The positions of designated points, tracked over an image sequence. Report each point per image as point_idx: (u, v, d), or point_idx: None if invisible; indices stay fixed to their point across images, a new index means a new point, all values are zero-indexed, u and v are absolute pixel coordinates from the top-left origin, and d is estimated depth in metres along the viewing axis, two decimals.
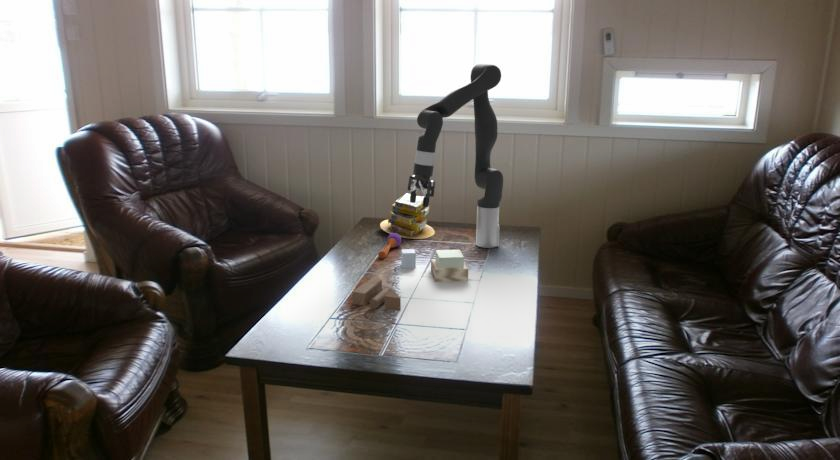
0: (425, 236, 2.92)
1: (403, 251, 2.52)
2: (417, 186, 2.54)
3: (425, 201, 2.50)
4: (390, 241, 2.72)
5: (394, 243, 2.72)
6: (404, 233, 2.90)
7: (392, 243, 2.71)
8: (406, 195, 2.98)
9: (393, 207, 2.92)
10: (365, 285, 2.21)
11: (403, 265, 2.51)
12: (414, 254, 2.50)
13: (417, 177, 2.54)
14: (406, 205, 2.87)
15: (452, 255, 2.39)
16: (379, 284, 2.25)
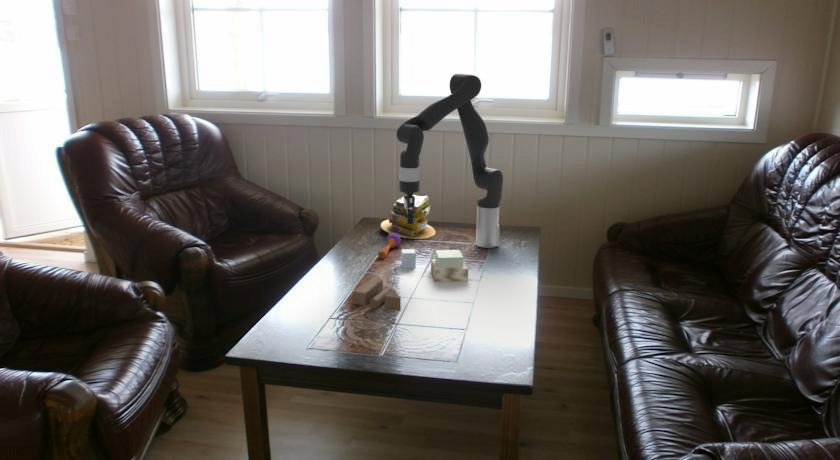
0: (426, 236, 2.92)
1: (403, 251, 2.52)
2: None
3: (408, 218, 2.43)
4: (390, 241, 2.72)
5: (394, 243, 2.72)
6: (405, 233, 2.90)
7: (392, 243, 2.71)
8: None
9: (394, 207, 2.92)
10: (366, 285, 2.21)
11: (403, 265, 2.51)
12: (414, 254, 2.50)
13: None
14: None
15: (452, 255, 2.39)
16: (380, 283, 2.25)
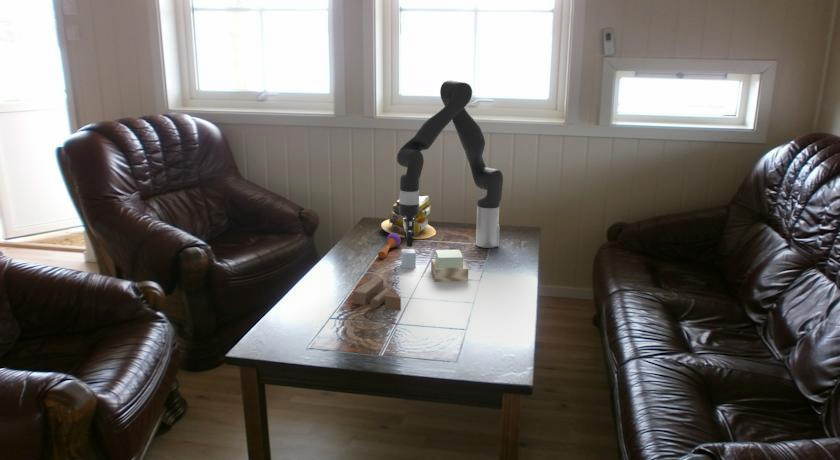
0: (426, 236, 2.92)
1: (403, 251, 2.52)
2: None
3: (407, 241, 2.45)
4: (389, 241, 2.72)
5: (393, 243, 2.72)
6: None
7: (391, 243, 2.71)
8: None
9: (394, 207, 2.92)
10: (366, 285, 2.21)
11: (403, 265, 2.51)
12: (414, 254, 2.50)
13: (405, 215, 2.50)
14: None
15: (451, 255, 2.39)
16: (380, 283, 2.25)
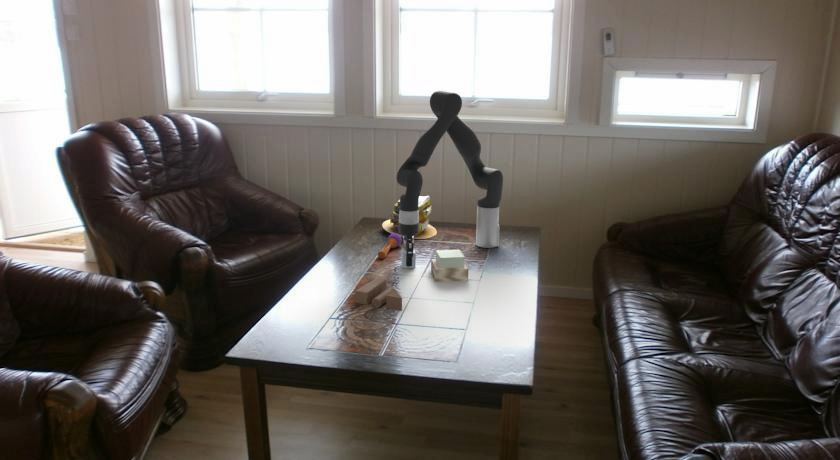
0: (427, 236, 2.92)
1: (403, 251, 2.51)
2: None
3: (407, 261, 2.49)
4: (390, 241, 2.72)
5: (394, 243, 2.72)
6: None
7: (392, 243, 2.71)
8: None
9: (395, 207, 2.92)
10: (369, 284, 2.21)
11: (403, 265, 2.51)
12: (414, 254, 2.50)
13: (405, 234, 2.52)
14: None
15: (453, 255, 2.39)
16: (383, 283, 2.26)
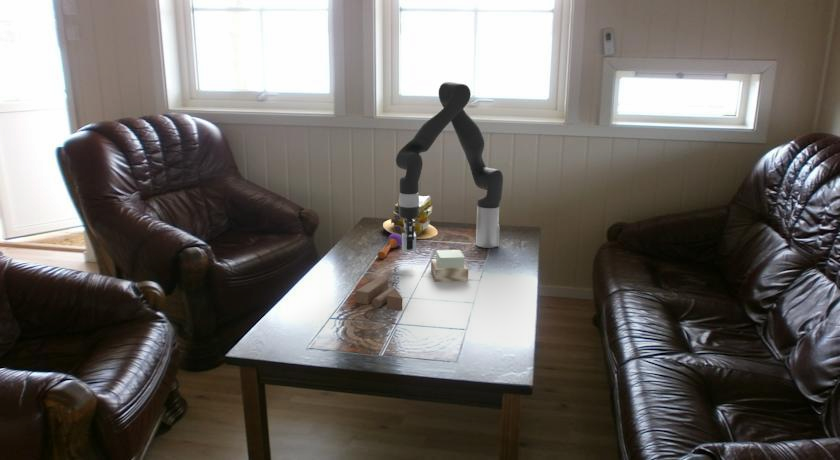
0: (428, 236, 2.92)
1: (403, 234, 2.50)
2: None
3: (408, 244, 2.48)
4: (390, 241, 2.71)
5: (394, 243, 2.72)
6: None
7: (392, 243, 2.71)
8: None
9: (396, 207, 2.92)
10: (370, 284, 2.21)
11: (404, 248, 2.49)
12: (415, 237, 2.48)
13: (405, 218, 2.50)
14: None
15: (453, 255, 2.39)
16: (384, 283, 2.26)
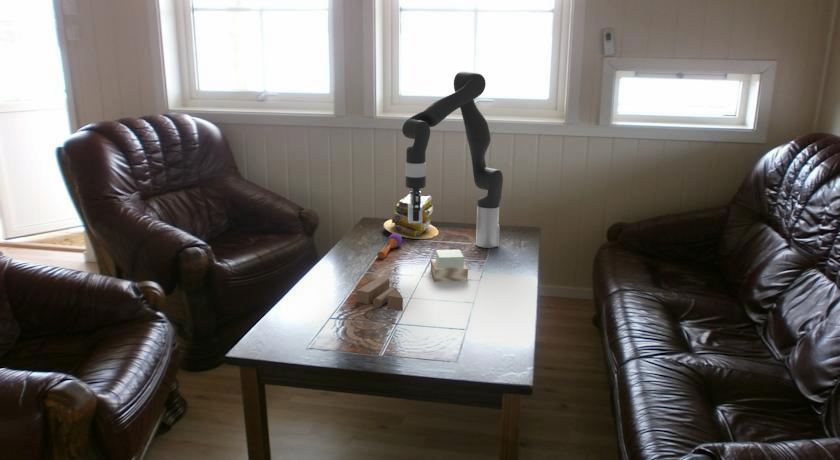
0: (429, 236, 2.92)
1: (410, 205, 2.45)
2: None
3: (414, 215, 2.43)
4: (390, 241, 2.71)
5: (394, 243, 2.72)
6: (408, 233, 2.90)
7: (392, 243, 2.71)
8: None
9: (397, 207, 2.93)
10: (371, 284, 2.22)
11: (409, 220, 2.44)
12: (421, 208, 2.44)
13: (412, 189, 2.45)
14: None
15: (452, 255, 2.39)
16: (386, 283, 2.26)
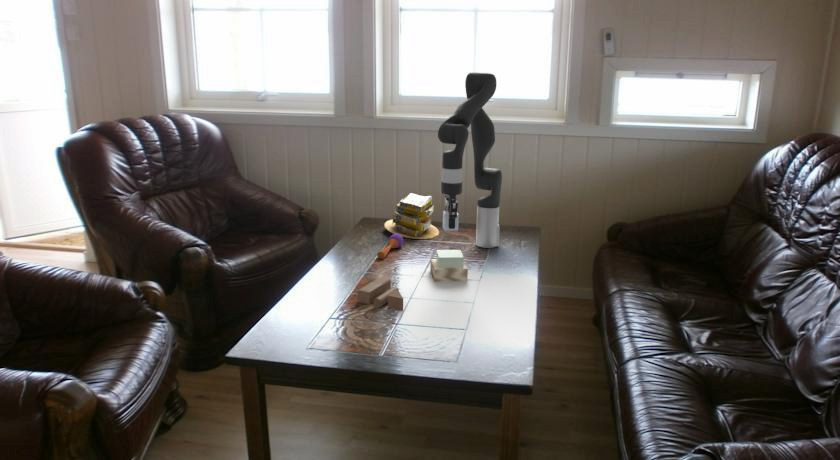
0: (429, 236, 2.92)
1: (445, 212, 2.37)
2: None
3: (450, 222, 2.34)
4: (391, 241, 2.71)
5: (395, 244, 2.71)
6: (408, 233, 2.90)
7: (393, 243, 2.71)
8: (410, 195, 2.98)
9: (397, 207, 2.93)
10: (372, 284, 2.22)
11: (445, 227, 2.36)
12: (457, 215, 2.35)
13: (447, 195, 2.37)
14: (410, 205, 2.87)
15: (452, 255, 2.39)
16: (387, 283, 2.26)
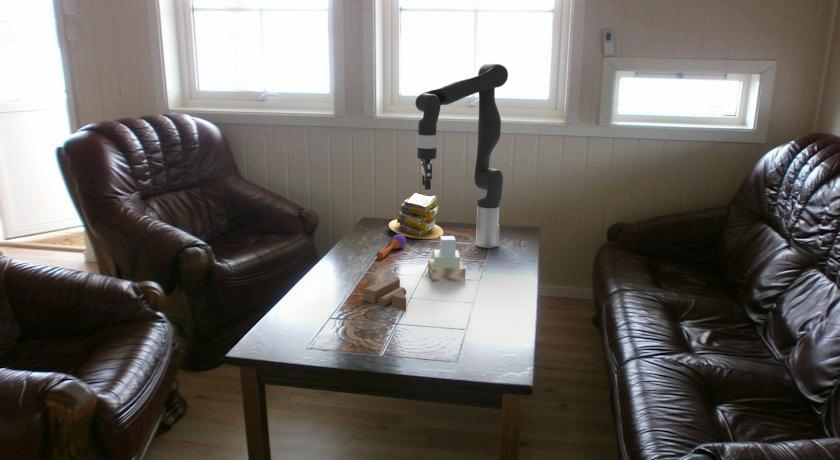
0: (434, 236, 2.92)
1: (442, 238, 2.39)
2: None
3: (426, 184, 2.54)
4: (393, 242, 2.71)
5: (397, 244, 2.71)
6: (413, 233, 2.90)
7: (394, 244, 2.70)
8: (415, 195, 2.98)
9: (402, 207, 2.93)
10: (380, 283, 2.23)
11: (442, 252, 2.38)
12: (454, 241, 2.38)
13: (423, 160, 2.58)
14: (415, 205, 2.87)
15: None
16: (396, 283, 2.26)
